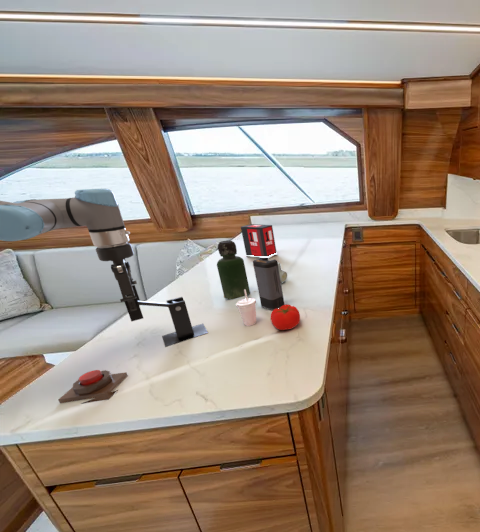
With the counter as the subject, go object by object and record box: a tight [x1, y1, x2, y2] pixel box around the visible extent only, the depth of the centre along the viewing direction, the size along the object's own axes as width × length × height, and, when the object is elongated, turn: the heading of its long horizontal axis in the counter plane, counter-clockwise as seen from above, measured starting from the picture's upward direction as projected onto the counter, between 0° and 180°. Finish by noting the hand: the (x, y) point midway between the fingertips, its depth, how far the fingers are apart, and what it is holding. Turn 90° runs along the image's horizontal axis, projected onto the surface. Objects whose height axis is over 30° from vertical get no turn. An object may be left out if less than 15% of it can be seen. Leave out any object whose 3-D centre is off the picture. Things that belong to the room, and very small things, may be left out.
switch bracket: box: [161, 296, 209, 348], centre depth 100 cm, size 12×9×14 cm
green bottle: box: [216, 240, 251, 300], centre depth 131 cm, size 10×10×25 cm
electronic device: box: [252, 258, 285, 311], centre depth 120 cm, size 9×6×20 cm, turn 59°
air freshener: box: [277, 261, 288, 284], centre depth 147 cm, size 11×8×10 cm
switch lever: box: [138, 300, 179, 308], centre depth 94 cm, size 13×6×2 cm, turn 132°
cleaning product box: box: [240, 223, 277, 256], centre depth 191 cm, size 16×9×20 cm, turn 72°
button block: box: [57, 369, 129, 405], centre depth 77 cm, size 10×8×4 cm
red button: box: [78, 369, 103, 386], centre depth 76 cm, size 4×4×2 cm
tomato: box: [270, 303, 301, 331], centre depth 107 cm, size 10×11×6 cm
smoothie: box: [235, 289, 257, 327], centre depth 106 cm, size 6×6×14 cm
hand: (136, 311), depth 91 cm, fingers open, 13 cm apart
